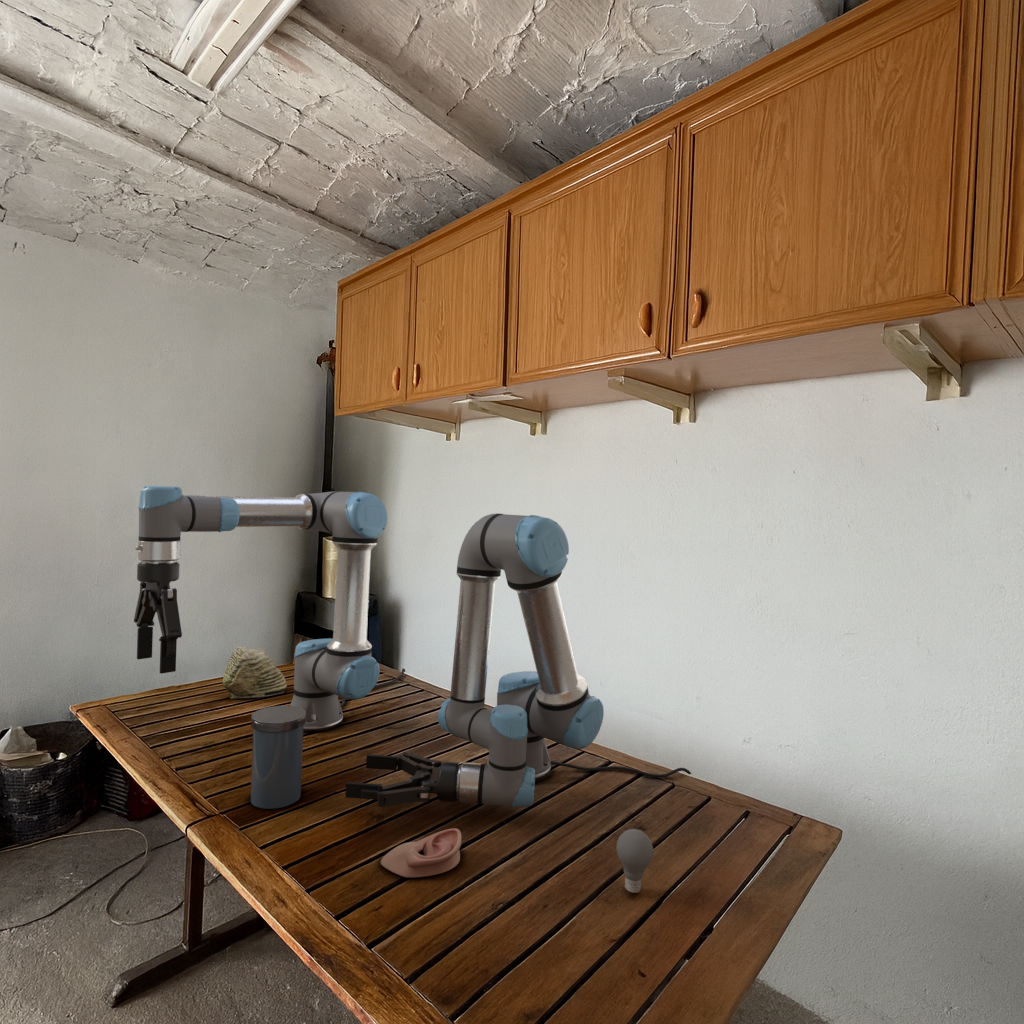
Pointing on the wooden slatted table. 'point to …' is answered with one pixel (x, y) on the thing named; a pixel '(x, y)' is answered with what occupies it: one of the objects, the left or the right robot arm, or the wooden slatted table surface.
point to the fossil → (252, 674)
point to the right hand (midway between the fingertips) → (356, 774)
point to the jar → (276, 768)
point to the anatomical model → (425, 855)
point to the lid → (278, 719)
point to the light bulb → (634, 857)
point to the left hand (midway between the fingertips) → (155, 665)
